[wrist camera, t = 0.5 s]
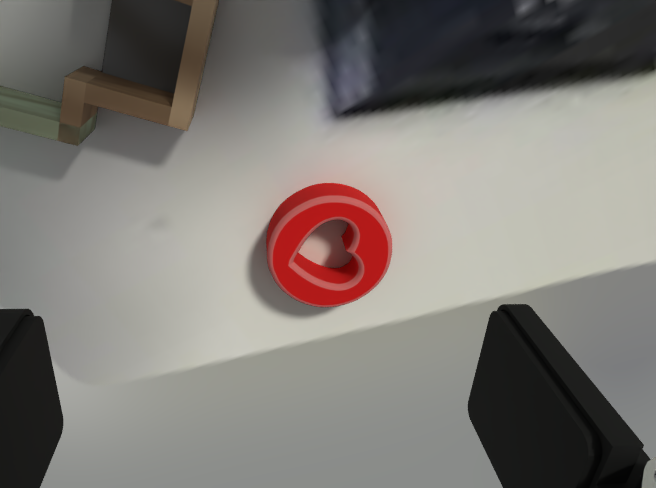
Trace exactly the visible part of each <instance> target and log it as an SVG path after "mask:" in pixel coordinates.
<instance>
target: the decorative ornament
mask: <svg viewBox="0 0 656 488" xmlns="http://www.w3.org/2000/svg"><path fill="white" fill-rule="evenodd" d="M331 220H343V221H346V222H347V223H348V227H347V229H346V231H345V233H344V234H343V235H342V236H341V237H342V240H343V243H344V246H345V249H346V251H347V252H349V253H350V254H352V255H353V256H352V259H351V260H350V262H349V263H348V264H346V265H345V266H343V267H340V268H328V267H324V266H321V265H318V264H316V263H314V262H312V261H310V260H308V259H306V258H305V257H303V256H302V255H301V254H299V253H298V251H299V250H300V248H301V246H302V245H303V243H304V242H305V240H306V239H307V238H308V236H309V235H310V234H311V233H312V232H313V231H314V230H315V229H316V228H318V227H319V226H320V225H322V224H323V223H325V222H328V221H331ZM266 244H267V262H268V267H269V270H270V272H271V274H272V277H273V279H274V280H275V282H276V283H277V285H278V286H279V287H280V288H281V289H282V290H283V291H284V292H285V293H286V294H287V295H289V296H290V297H292V298H293V299H295V300H297V301H299V302H302V303H304V304H307V305H311V306H316V307H334V306H340V305H344V304H348V303H350V302H353V301H355V300H358V299H359V298H361V297H363V296H364V295H366V294H367V293H369V292H370V291H371V290H372V289H374V288H375V287H376V286H377V285H378V283H379V282H380V281H381V280H382V278H383V277H384V275H385V274H386V272H387V269H388V267H389V264H390V260H391V255H392V238H391V234H390V231H389V229H388V226H387V224H386V222H385V220H384V218H383V217H382V215H381V213H380V211H379V209H378V208H377V206H376V205H375V203H374V202H373V201H372V200H371V199H370V198H369V197H368V196H367V195H365V194H364V193H362V192H361V191H359V190H357V189H355V188H353V187H350V186H347V185H343V184H336V183H322V184H316V185H312V186H309V187H306V188H304V189H302V190H300V191H298V192H296V193H294V194H293V195H291V196H290V197H289V198H287V199H286V200H285V201H284V202H283V203H282V204H281V205H280V206H279V207H278V209H277V210H276V211H275V213H274V215H273V217H272V219H271V221H270V224H269V227H268V231H267V239H266Z"/></svg>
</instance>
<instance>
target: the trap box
mask: <svg viewBox="0 0 656 488" xmlns="http://www.w3.org/2000/svg"><path fill="white" fill-rule="evenodd" d="M218 2H219V0H112V6H111V13H110V19H109V26H108V33H107V40H106V47H105V54H104V61H103V68H102V71H99V70H95V69H92V68H89V67H85V66H83V67H81V68H80V69H78V70H76V71H74V72H72V73H71V74H69V75H67V76H65V79H64V88H63V96H62V103H61V102H57V101H53V100H50V99H46V98H42V97H39V96H35V95H31V94H28V93H24V92H20V91H17V90H13V89H10V88H6V87H2V86H0V126H2V127H6V128H10V129H14V130H18V131H22V132H26V133H29V134H33V135H37V136H41V137H45V138H49V139H53V140H57V141H61V142H65V143H68V144H72V145H76V146H78V145H79V144H80V143H81V142H82V141H83V140H84V139H85V138H86V137H87V136H88V135H89V134H90V133H91V132H92V131H93V130H94V129H95V123H96V117H97V110H98V107H102V108H106V109H109V110H113V111H116V112H120V113H124V114H127V115H131V116H134V117H138V118H142V119H145V120H149V121H153V122H156V123H160V124H163V125H167V126H171V127H174V128H178V129H182V130H185V131H187V130H188V128H189V126H190V123H191V121H192V118H193V116H194V111H195V107H196V102H197V98H198V93H199V89H200V84H201V79H202V75H203V70H204V66H205V61H206V57H207V52H208V48H209V43H210V39H211V34H212V30H213V25H214V20H215V16H216V11H217V7H218Z"/></svg>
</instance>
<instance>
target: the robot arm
mask: <svg viewBox="0 0 656 488" xmlns="http://www.w3.org/2000/svg"><path fill="white" fill-rule="evenodd" d="M468 413H469V417H470V420H471V422H472V424H473V426H474V428H475V430H476V432H477V434H478V436H479V438H480V441H481V443H482V445H483V447H484V449H485V451H486V453H487V455H488V457H489V459H490V461H491V464H492V466H493V468H494V470H495V472H496V474H497V476H498V478H499V480H500V482H501V484H502V486H503V488H656V457H654V458H653V459H650V458H649V457H648V456H647V454H646V453H645V452H644V451H643V449H642V448H643V446H644V445H643V443H642V442H641V441H640V440H639V438H638V437H637V436H636V435H635V434H634V432H633V431H632V430H631V429H630V427H629V426H628V425H627V424H626V423H625V421H624V420H623V419H622V418H621V416H620V415H619V414H618V413H617V412H616V410H615V409H614V408H613V407H612V406H611V404H610V403H609V402H608V401H607V400H606V398H605V397H604V396H603V395H602V393H601V392H600V391H599V390H598V388H597V387H596V386H595V385H594V384H593V382H592V381H591V380H590V379H589V378H588V376H587V375H586V374H585V373H584V371H583V370H582V369H581V368H580V367H579V365H578V364H577V363H576V362H575V360H574V359H573V358H572V357H571V356H570V354H569V353H568V352H567V351H566V349H565V348H564V347H563V346H562V345H561V343H560V342H559V341H558V340H557V338H556V337H555V336H554V335H553V334H552V332H551V331H550V330H549V329H548V328H547V326H546V325H545V324H544V323H543V322H542V320H541V319H540V318H539V317H538V315H537V314H536V313H535V312H534V311H533V309H532V308H531V307H530V306H529V305H526V304H515V305H514V304H507V305H506V304H504V305H501V306H499V308H498V310H497V311H493V312H492V313H491V315H490V318H489V321H488V325H487V329H486V333H485V337H484V341H483V345H482V349H481V353H480V357H479V361H478V365H477V369H476V373H475V377H474V381H473V385H472V389H471V393H470V397H469V401H468ZM62 430H63V414H62V410H61V405H60V400H59V395H58V391H57V385H56V381H55V376H54V371H53V366H52V361H51V356H50V351H49V346H48V341H47V336H46V332H45V327H44V322H43V319H42V318H41V317H40V316H34V315H33V313H32V311H31V310H29V309H0V488H40V486H41V483H42V481H43V478H44V476H45V473H46V471H47V469H48V466H49V464H50V461H51V459H52V456H53V454H54V452H55V449H56V447H57V444H58V442H59V439H60V437H61V434H62Z"/></svg>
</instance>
